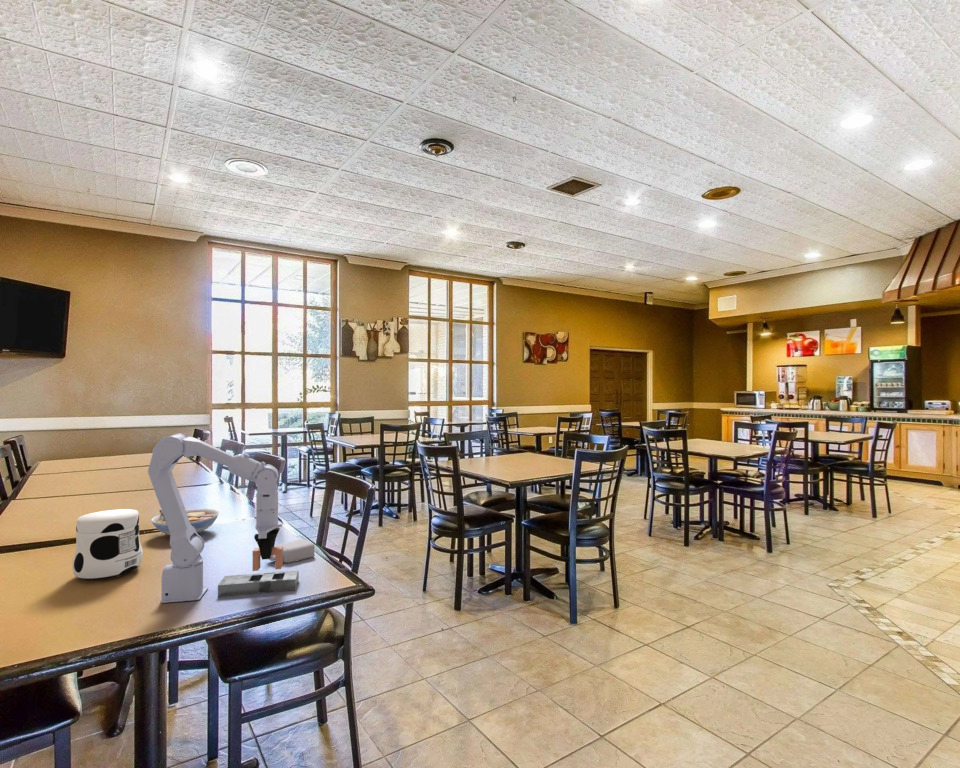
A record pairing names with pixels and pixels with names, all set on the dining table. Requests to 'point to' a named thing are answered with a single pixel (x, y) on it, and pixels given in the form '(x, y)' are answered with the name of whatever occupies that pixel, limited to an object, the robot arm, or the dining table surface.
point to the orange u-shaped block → (275, 551)
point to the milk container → (107, 544)
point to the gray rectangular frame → (258, 583)
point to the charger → (296, 550)
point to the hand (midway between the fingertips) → (267, 556)
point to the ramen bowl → (197, 519)
